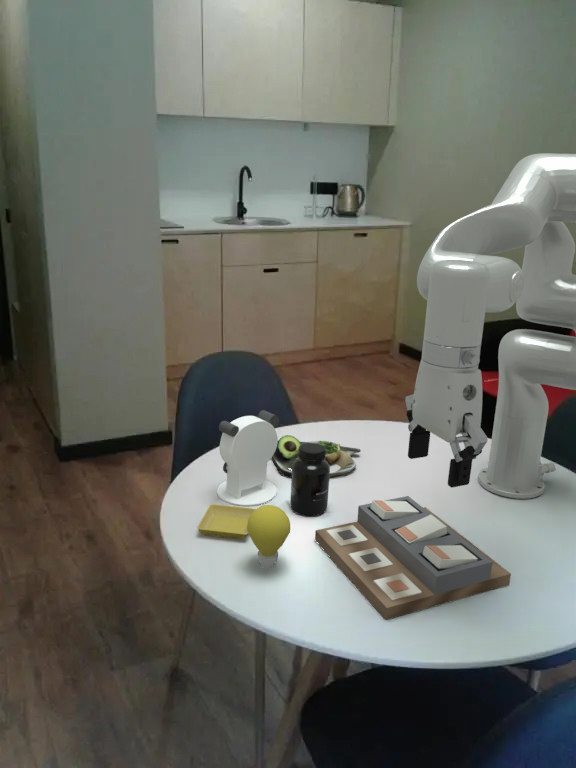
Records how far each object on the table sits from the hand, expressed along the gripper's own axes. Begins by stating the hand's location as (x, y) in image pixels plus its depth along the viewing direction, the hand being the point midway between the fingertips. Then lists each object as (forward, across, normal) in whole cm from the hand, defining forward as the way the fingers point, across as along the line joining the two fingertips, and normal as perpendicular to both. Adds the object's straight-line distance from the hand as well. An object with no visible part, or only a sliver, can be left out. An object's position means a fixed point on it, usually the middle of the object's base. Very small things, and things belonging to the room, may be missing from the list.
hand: (437, 470), depth 95 cm
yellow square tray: (+20, +26, +22) cm, 40 cm away
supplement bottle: (+19, +28, +6) cm, 34 cm away
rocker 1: (+14, +14, -3) cm, 20 cm away
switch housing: (+17, +7, -3) cm, 19 cm away
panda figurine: (+19, +38, +14) cm, 45 cm away
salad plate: (+19, +46, -3) cm, 50 cm away
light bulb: (+19, +14, +20) cm, 31 cm away
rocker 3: (+14, -1, -3) cm, 15 cm away
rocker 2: (+14, +6, -3) cm, 16 cm away
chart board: (+19, +6, -1) cm, 20 cm away
